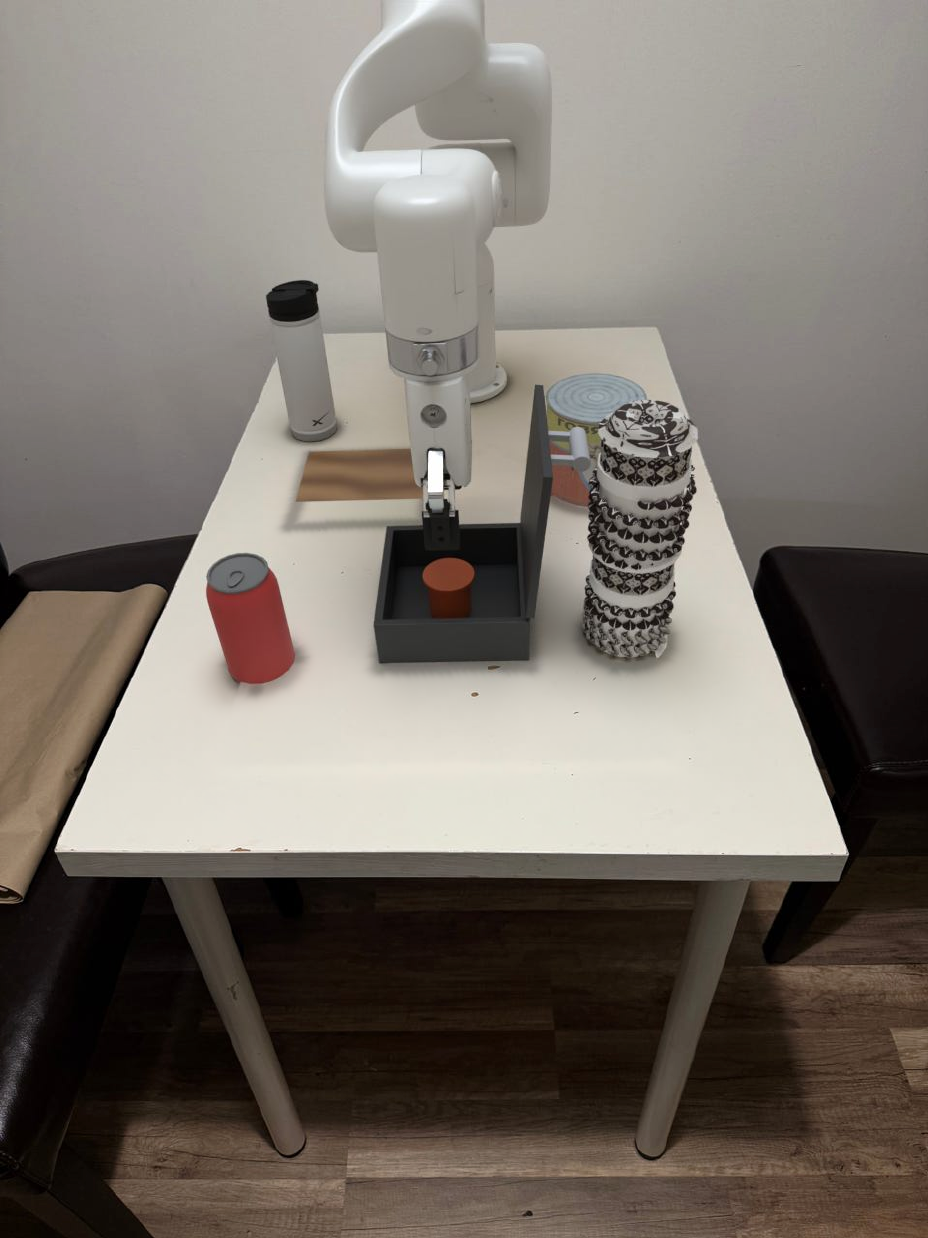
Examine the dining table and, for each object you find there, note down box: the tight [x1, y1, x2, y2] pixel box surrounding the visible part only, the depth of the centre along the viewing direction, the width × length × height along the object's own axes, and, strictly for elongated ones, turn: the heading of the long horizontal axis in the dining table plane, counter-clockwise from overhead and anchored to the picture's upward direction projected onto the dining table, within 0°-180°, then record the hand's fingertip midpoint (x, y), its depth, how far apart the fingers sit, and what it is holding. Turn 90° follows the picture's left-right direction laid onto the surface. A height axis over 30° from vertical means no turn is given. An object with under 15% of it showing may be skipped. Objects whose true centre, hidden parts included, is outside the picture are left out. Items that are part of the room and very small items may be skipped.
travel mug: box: [265, 279, 338, 442], centre depth 115 cm, size 6×7×20 cm
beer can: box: [205, 552, 296, 685], centre depth 84 cm, size 7×7×12 cm
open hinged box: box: [373, 522, 531, 664], centre depth 91 cm, size 15×16×6 cm
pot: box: [423, 558, 475, 619], centre depth 91 cm, size 5×5×5 cm
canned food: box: [545, 372, 648, 508], centre depth 105 cm, size 11×11×12 cm
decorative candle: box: [581, 398, 699, 660], centre depth 81 cm, size 9×9×25 cm
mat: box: [295, 448, 423, 503], centre depth 111 cm, size 16×16×1 cm
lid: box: [519, 384, 591, 619], centre depth 83 cm, size 16×16×5 cm
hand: (444, 517), depth 84 cm, fingers open, 9 cm apart
